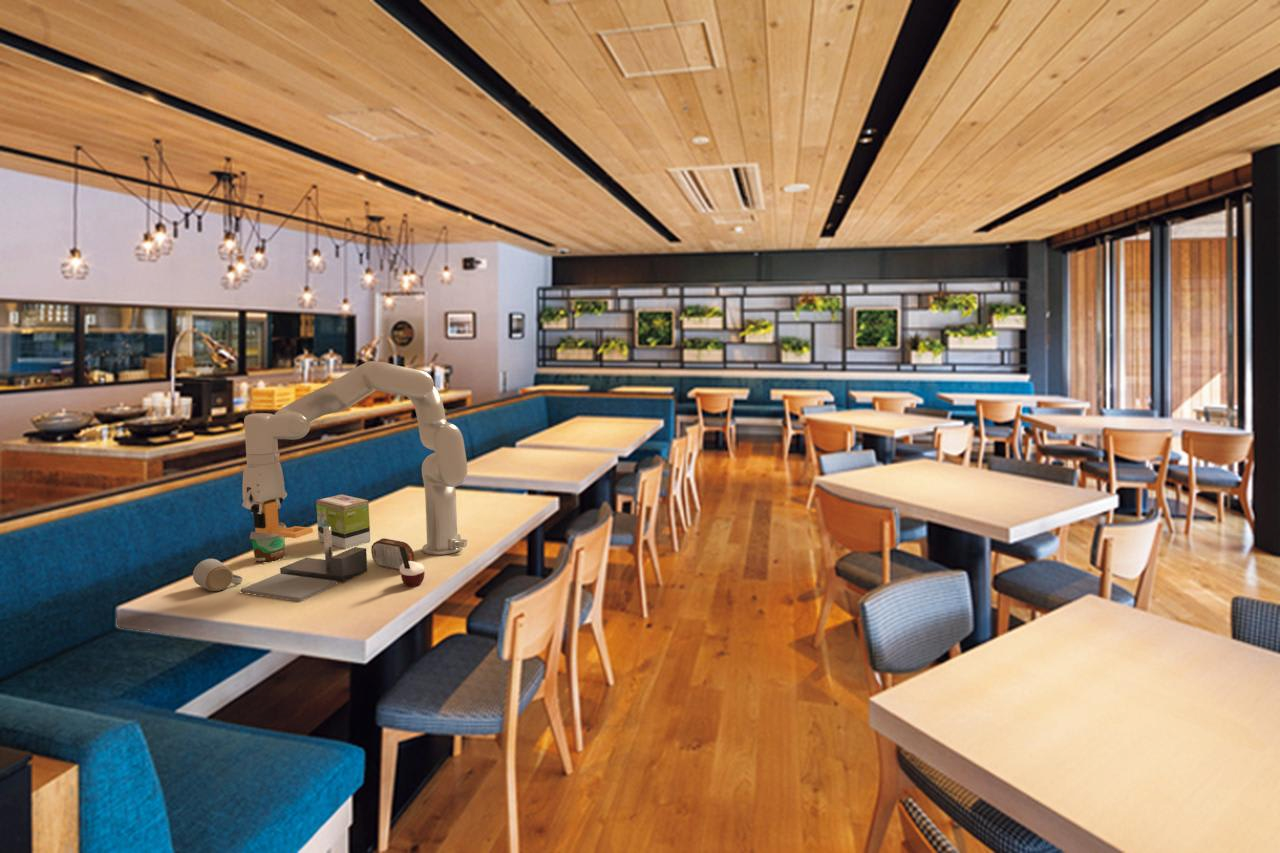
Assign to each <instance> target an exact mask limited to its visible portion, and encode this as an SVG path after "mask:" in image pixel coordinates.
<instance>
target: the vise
mask: <svg viewBox="0 0 1280 853" xmlns="http://www.w3.org/2000/svg"><path fill="white" fill-rule="evenodd" d="M323 530H324V542H323V544H324V559H320V558H312V557H304V558H302V559H299V560H297V561H294V562H292V563H290V564H287V565H284V566H282V567H280V568H279V572H280V573H279V574H287V575H294V576H302V577H310V578H317V579H325V580H332V581H336V583H341V584H344V583H346V582H348V581H352V580H353V579H355V578H356V577H358V576H361V575H363V574H365V573H368V559H367V558H368V557H367V547H357V546H354V547H351V548H348V550H345V551H342V552H340V553H338V554H335V555H333V554H334V553H333V545H332V536H331V526H325V527H323Z"/></svg>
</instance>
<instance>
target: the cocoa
mask: <svg viewBox="0 0 1280 853" xmlns="http://www.w3.org/2000/svg"><path fill="white" fill-rule="evenodd" d="M399 549H400V553H401V556H402V560H403V564H402V565H401V566H400V570H399V572H400V578H401V580H402V583H403V584H404V585H405V586H406V587H417V586H420V585H421V584H422V582H423V581H424V578H425V569H426V568H425V566H424V565H423V564H422V563H420V562H416V561H415V560H414V561H408V558H407V554H406V550H405V547H399Z"/></svg>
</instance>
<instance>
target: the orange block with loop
mask: <svg viewBox="0 0 1280 853" xmlns="http://www.w3.org/2000/svg"><path fill="white" fill-rule="evenodd" d="M257 508H258V504H257ZM263 513H264V515H265V528H255V527H254V528H255V529H254V530H255V531H254V532H256V533H265V534H268V533H274V534H277V535H278V536H280V537H285V538H289V539H290V538H291V539H297V538H301V537H303V536H306V535H309V534H312V533H314V532H313V531H314V529H313V528H314V527H307V526H305V527H304V526H297V525H294V526H291V527H287V526H286V527H279V522H280V519H279V520H278V504H277V501H266V502H263Z"/></svg>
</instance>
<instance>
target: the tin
mask: <svg viewBox="0 0 1280 853" xmlns="http://www.w3.org/2000/svg"><path fill="white" fill-rule="evenodd" d="M370 547H371V558H372V561H373V562H374V563H375V564H376V565H377V566H379V567H381V568H385V567H386V568H387V569H391V570H396V571H400V566H401V565H402V564H403V560H402V556H401V553H400V549H399V547H405V550H406V554H407V558H408V561H414V562H415V552H414V550H413V548H412V547H411V546H410V545H409V544H408V543H407V542H405V541H400V540H395V539H389V538H380V539H379V540H376V541H375V542H373V543H372V545H371V546H370Z"/></svg>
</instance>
